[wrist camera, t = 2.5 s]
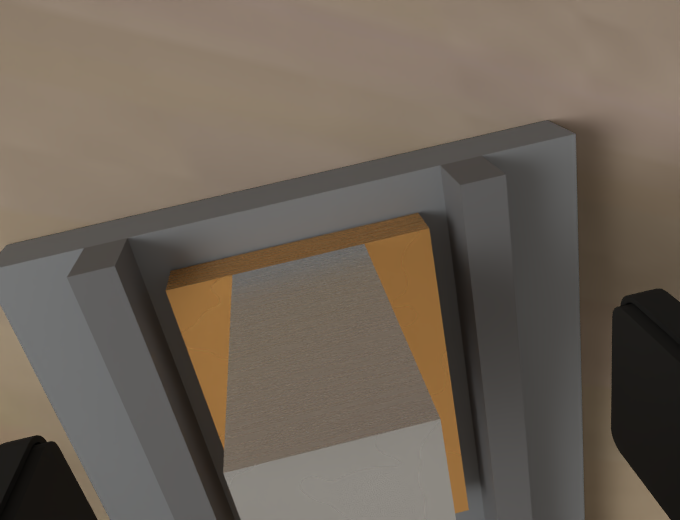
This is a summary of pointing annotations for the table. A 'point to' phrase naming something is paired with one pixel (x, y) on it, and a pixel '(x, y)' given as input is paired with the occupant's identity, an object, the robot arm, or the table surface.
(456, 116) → the table surface
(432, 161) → the rail board
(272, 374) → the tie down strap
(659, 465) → the robot arm
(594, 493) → the table surface
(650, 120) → the table surface
